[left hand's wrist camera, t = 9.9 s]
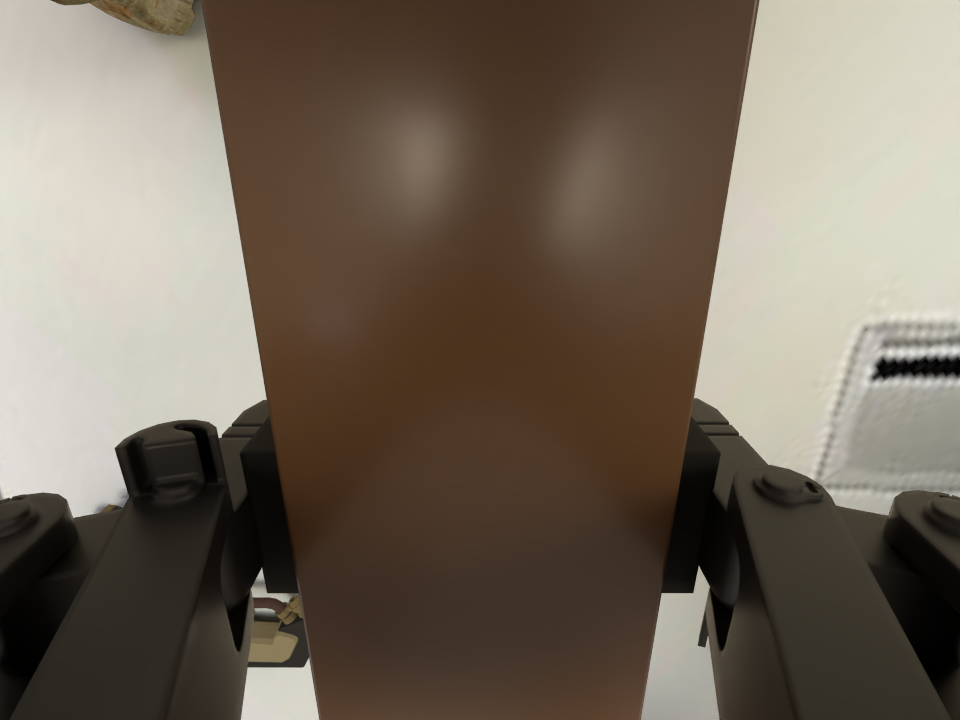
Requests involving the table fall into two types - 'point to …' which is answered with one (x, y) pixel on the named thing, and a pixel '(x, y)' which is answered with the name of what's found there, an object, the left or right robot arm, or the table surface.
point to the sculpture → (147, 13)
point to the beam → (480, 327)
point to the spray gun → (275, 633)
